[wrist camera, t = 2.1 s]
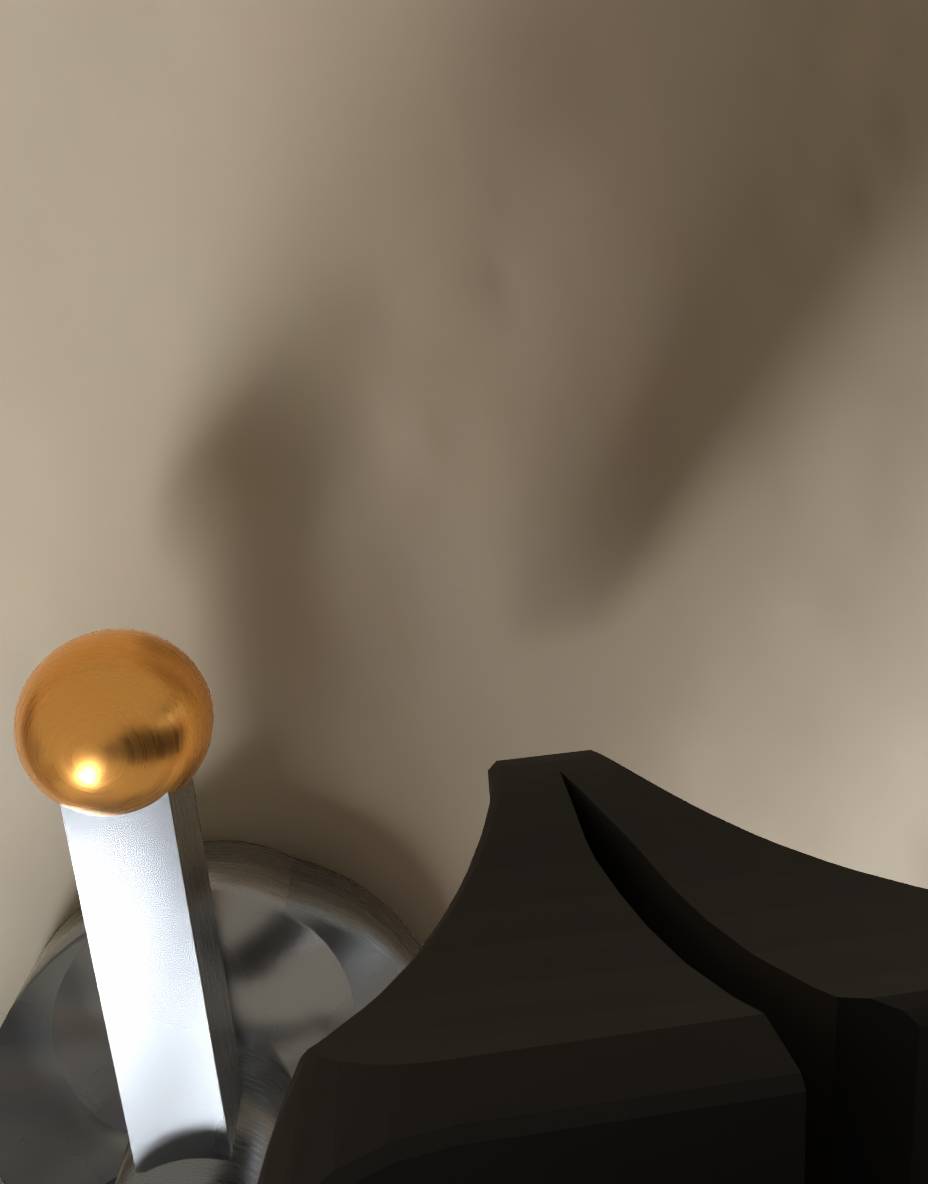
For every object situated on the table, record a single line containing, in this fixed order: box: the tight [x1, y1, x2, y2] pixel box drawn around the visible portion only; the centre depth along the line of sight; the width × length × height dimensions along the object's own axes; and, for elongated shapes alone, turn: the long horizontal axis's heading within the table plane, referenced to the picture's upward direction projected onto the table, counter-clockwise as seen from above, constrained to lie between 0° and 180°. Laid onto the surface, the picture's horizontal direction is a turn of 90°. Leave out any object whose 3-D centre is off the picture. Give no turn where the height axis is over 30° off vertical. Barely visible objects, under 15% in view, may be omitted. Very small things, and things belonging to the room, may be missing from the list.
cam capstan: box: [0, 629, 420, 1184], centre depth 13 cm, size 13×14×4 cm
